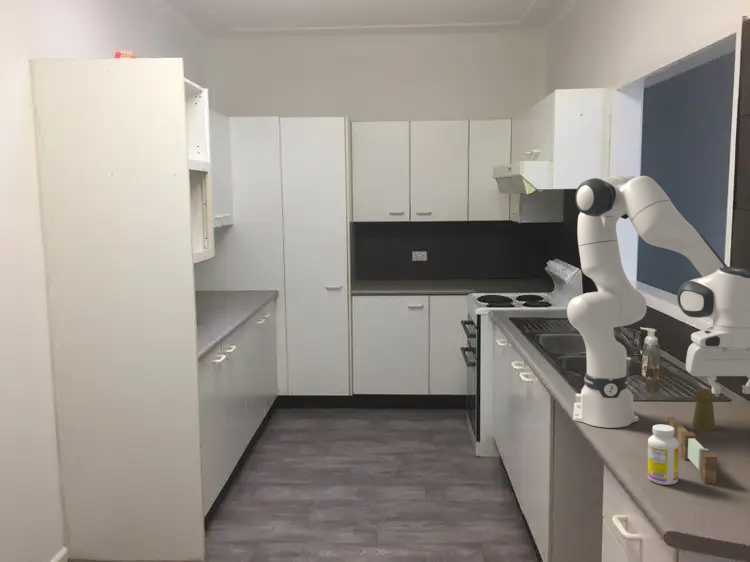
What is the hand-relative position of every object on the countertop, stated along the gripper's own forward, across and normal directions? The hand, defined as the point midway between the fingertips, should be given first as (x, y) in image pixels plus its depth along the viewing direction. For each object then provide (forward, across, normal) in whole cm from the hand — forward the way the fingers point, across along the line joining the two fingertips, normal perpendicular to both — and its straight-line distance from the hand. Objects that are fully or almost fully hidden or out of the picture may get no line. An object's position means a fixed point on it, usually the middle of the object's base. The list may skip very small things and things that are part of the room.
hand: (731, 393), depth 158 cm
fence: (+19, +7, -7) cm, 22 cm away
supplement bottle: (+19, +17, +6) cm, 27 cm away
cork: (+19, -5, -30) cm, 36 cm away
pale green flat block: (+18, +7, 0) cm, 19 cm away
